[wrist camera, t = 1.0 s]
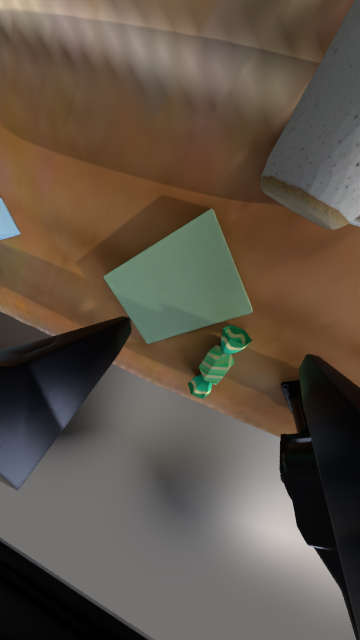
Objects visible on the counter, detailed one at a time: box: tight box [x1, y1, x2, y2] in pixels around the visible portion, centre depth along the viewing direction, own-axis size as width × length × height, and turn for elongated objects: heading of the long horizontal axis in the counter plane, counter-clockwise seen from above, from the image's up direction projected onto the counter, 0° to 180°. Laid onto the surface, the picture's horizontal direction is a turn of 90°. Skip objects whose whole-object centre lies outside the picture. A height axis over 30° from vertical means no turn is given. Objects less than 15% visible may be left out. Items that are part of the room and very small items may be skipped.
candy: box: [188, 325, 252, 399], centre depth 25 cm, size 12×3×4 cm
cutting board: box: [103, 209, 253, 344], centre depth 23 cm, size 12×16×1 cm
